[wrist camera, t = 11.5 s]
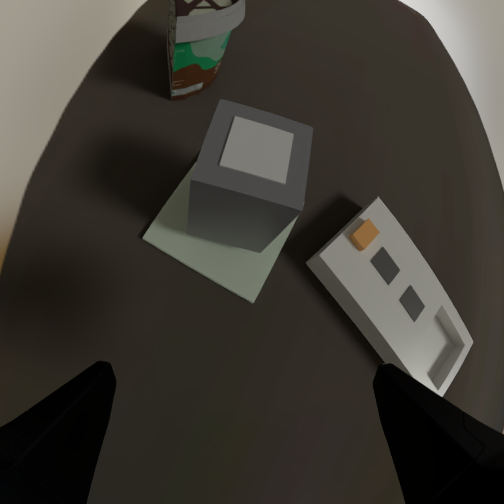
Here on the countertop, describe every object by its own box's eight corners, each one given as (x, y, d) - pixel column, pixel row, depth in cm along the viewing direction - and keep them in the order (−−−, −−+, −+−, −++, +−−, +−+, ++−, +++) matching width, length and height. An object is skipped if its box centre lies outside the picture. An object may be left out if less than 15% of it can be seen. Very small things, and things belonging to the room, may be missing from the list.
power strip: (455, 343, 24) (477, 341, 21) (416, 404, 22) (439, 409, 19) (363, 208, 25) (382, 194, 22) (305, 262, 23) (322, 252, 20)
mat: (252, 303, 21) (253, 302, 21) (143, 239, 20) (142, 237, 20) (302, 204, 24) (304, 202, 23) (207, 149, 23) (207, 147, 23)
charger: (255, 258, 21) (303, 210, 13) (186, 240, 21) (190, 178, 12) (267, 197, 23) (314, 126, 14) (204, 179, 22) (220, 97, 13)
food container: (239, 107, 25) (267, 22, 16) (172, 112, 24) (177, 20, 14) (219, 36, 28) (235, -33, 18) (166, 39, 26) (171, -33, 17)
